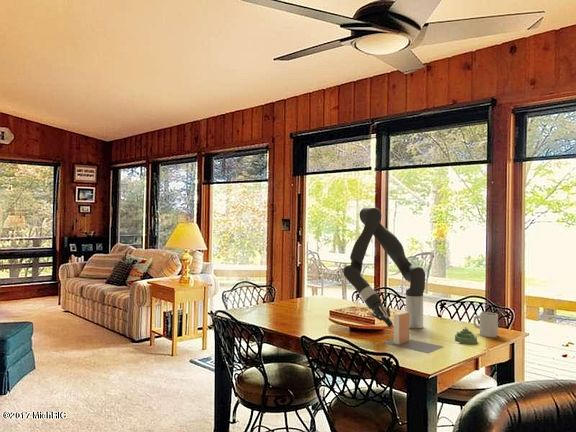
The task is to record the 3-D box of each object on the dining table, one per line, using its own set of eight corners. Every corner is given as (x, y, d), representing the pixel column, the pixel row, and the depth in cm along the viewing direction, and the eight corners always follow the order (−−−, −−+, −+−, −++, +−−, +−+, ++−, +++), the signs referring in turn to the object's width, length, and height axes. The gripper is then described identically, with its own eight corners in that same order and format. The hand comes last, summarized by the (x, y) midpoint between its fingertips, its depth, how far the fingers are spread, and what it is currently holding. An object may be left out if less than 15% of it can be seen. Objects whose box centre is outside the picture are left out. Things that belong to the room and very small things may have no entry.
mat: (381, 344, 219) (381, 342, 219) (398, 338, 230) (398, 336, 230) (428, 354, 202) (428, 353, 202) (444, 347, 213) (444, 346, 213)
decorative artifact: (480, 341, 224) (461, 337, 231) (480, 327, 224) (461, 323, 231) (470, 345, 217) (451, 341, 224) (470, 330, 217) (450, 326, 224)
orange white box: (393, 343, 218) (393, 313, 218) (403, 339, 224) (403, 310, 224) (399, 344, 216) (399, 314, 216) (409, 341, 222) (409, 311, 222)
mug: (500, 335, 235) (500, 313, 235) (494, 338, 229) (494, 316, 229) (476, 331, 244) (476, 310, 244) (470, 334, 237) (470, 312, 237)
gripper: (366, 294, 226) (388, 323, 218) (382, 291, 236) (403, 319, 227) (358, 303, 230) (378, 332, 221) (373, 300, 239) (394, 328, 231)
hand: (391, 325), depth 224 cm, fingers closed
